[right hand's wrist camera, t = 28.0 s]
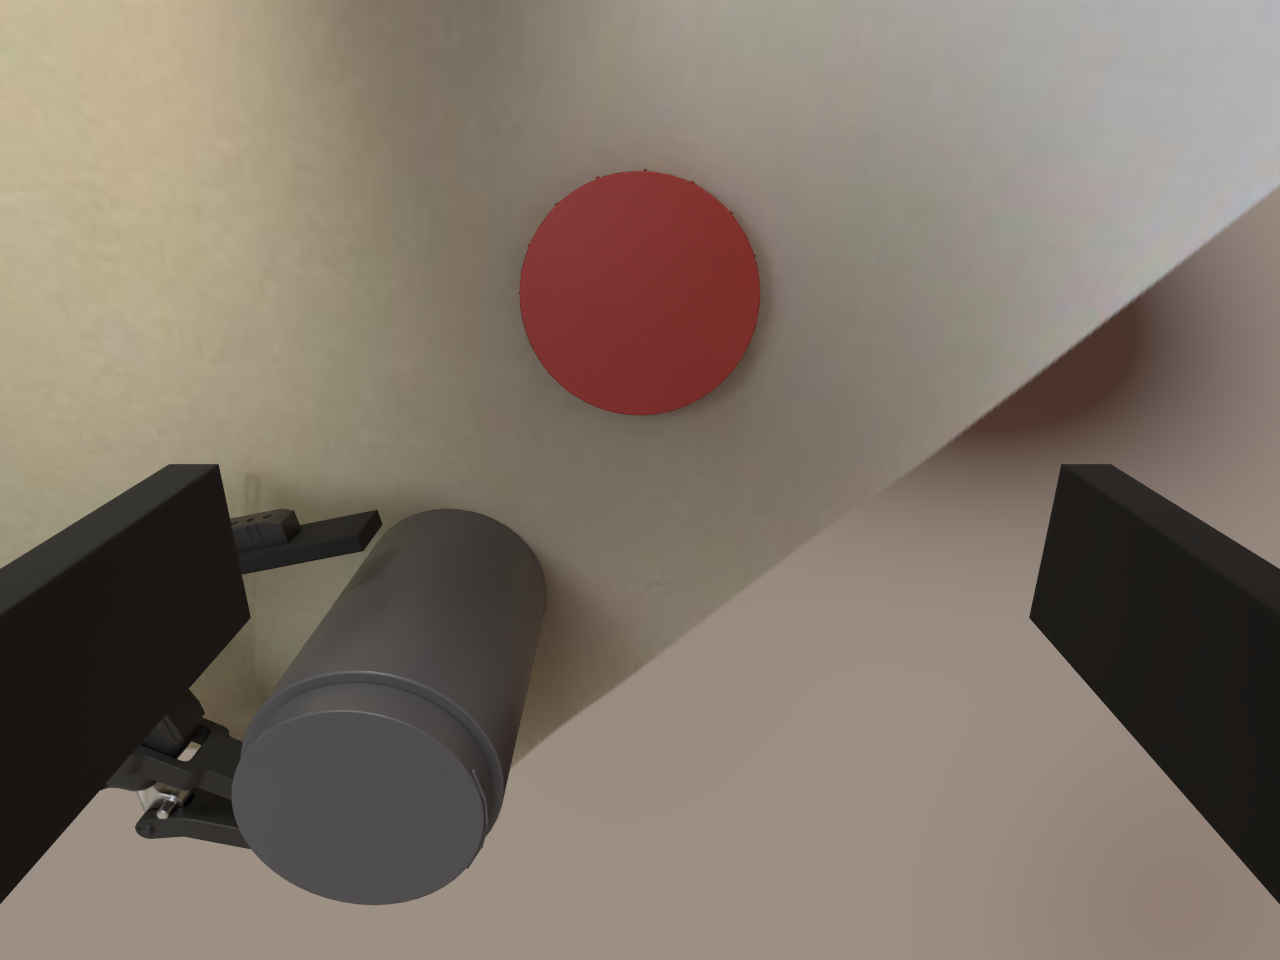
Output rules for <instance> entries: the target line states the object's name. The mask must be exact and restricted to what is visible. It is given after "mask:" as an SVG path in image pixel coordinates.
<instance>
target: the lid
mask: <svg viewBox="0 0 1280 960" xmlns="http://www.w3.org/2000/svg"><path fill="white" fill-rule="evenodd" d="M694 183H695V182H693V181H691V182H688V181H686V180H684V179H681V178H678V177H675V176H672V175H668V174H663V173H658V172H649V171H647V169H644V171H631V172H621V173H616V174H612V175H608V176H604V177H601V178H599V177H596V180H594V181H591V182H589V183H587V184H585V185H583V186H582V187H580V188H578V189H576V190H575V191H573V192H572V193H571V194H569V195H568V196H567V197H565V198H564V199H563V200H561V201H560V202H559V203H556V204H555V207H554V208H553V209H552V210H551V211H550V213H549V214H548V215H547V217H546V218H545V219H544V220H543V222H542V223H541V224H540V226H539V228H538V229H537V231H536V233H535V235H534V237H533V238H532V240H531V243H530V244H529V245H528V247H529V248H528V250H527V253H526V256H525V260H524V264H523V267H522V273H521V281H520V292H519V294H520V306H521V313H522V319H523V323H524V326H525V330H526V334H527V336H528V339H529V341H530V343H531V346H532V348H533V350H534V351H535V353H536V355H537V357H538V358H539V360H540V362H541V363H542V364H543V366H544V367H545V368H546V370H547V371H548V372H549V374H550V375H551V376H552V377H553V378H554V379H555V380H556V381H557V382H558V383H559V384H560V385H561V386H563V387H564V388H565V389H566V390H568V391H569V392H570V393H571V394H573V395H575V396H576V397H578V398H580V399H581V400H583V401H584V402H587V403H589V404H591V405H593V406H596V407H598V408H601V409H604V410H607V411H611V412H615V413H621V414H627V415H651V414H660V413H664V412H669V411H673V410H676V409H679V408H682V407H684V406H687V405H689V404H691V403H693V402H695V401H697V400H699V399H700V398H702V397H704V396H705V395H707V394H708V393H710V392H711V391H712V390H714V389H715V388H716V387H717V386H718V385H719V384H720V383H722V382H723V381H724V380H725V379H726V378H727V376H728V375H729V374H730V373H731V372H732V371H733V370H734V368H735V367H736V365H737V364H738V363H739V361H740V360H741V358H742V357H743V355H744V353H745V351H746V349H747V347H748V345H749V343H750V340H751V338H752V335H753V332H754V330H755V326H756V322H757V317H758V313H759V305H760V281H759V275H758V269H757V264H756V261H755V255H754V254H753V250H752V248H751V246H750V244H749V241H748V239H747V237H746V235H745V233H744V232H743V230H742V228H741V227H740V225H739V224H738V222H737V220H736V219H735V218H734V217H733V216H732V214H733V213H732V212H730V211H728V210H727V208H726V207H724V206H723V205H722V204H721V203H720V202H719V201H718V200H717V199H716V198H715V197H713V196H712V195H710V194H709V193H708V192H706V191H705V190H703V189H702V188H700V187H698V186H696V185H694Z"/></svg>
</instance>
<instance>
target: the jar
mask: <svg viewBox="0 0 1280 960" xmlns="http://www.w3.org/2000/svg"><path fill="white" fill-rule="evenodd" d="M545 604H546V588H545V581H544V577H543V574H542V571H541V568H540V566H539V564H538V561H537V560H536V558H535V556H534V555H533V553H532V551H531V550H530V549H529V548H528V546H527V545H526V544H525V543H524V542H523V541H522V540H521V539H520V538H519V537H518V536H517V535H516V534H515V533H514V532H512V531H511V530H510V529H508V528H507V527H505V526H504V525H502V524H500V523H499V522H497V521H495V520H493V519H490V518H488V517H486V516H483V515H480V514H477V513H473V512H468V511H463V510H451V509H445V510H433V511H428V512H423V513H420V514H417V515H414V516H411V517H409V518H407V519H405V520H403V521H401V522H399V523H398V524H396V525H395V526H393V527H392V528H391V529H390V530H389V531H388V532H386V533H385V534H384V535H383V537H382V538H381V539H380V540H379V541H378V542H377V544H376V545H375V547H374V548H373V550H372V551H371V552H370V554H369V555H368V557H367V558H366V559H365V561H364V562H363V564H362V565H361V566H360V568H359V569H358V571H357V572H356V573H355V575H354V576H353V578H352V579H351V581H350V582H349V583H348V585H347V586H346V588H345V589H344V590H343V592H342V593H341V595H340V596H339V597H338V599H337V600H336V602H335V603H334V604H333V606H332V607H331V609H330V610H329V612H328V613H327V614H326V616H325V617H324V619H323V620H322V621H321V623H320V624H319V626H318V627H317V628H316V630H315V631H314V633H313V634H312V635H311V637H310V638H309V640H308V641H307V643H306V644H305V645H304V647H303V648H302V650H301V651H300V652H299V654H298V655H297V657H296V658H295V659H294V661H293V662H292V664H291V665H290V666H289V668H288V669H287V671H286V672H285V674H284V675H283V676H282V678H281V679H280V681H279V682H278V683H277V685H276V686H275V688H274V689H273V690H272V692H271V693H270V695H269V696H268V697H267V699H266V700H265V702H264V703H263V705H262V706H261V707H260V709H259V710H258V712H257V713H256V714H255V716H254V718H253V719H252V721H251V723H250V724H249V726H248V729H247V731H246V734H245V736H244V739H243V744H242V750H241V760H240V761H239V763H238V766H237V769H236V771H235V774H234V778H233V784H232V806H233V813H234V816H235V819H236V822H237V825H238V827H239V829H240V831H241V833H242V835H243V837H244V839H245V841H246V842H247V843H248V845H249V846H250V848H251V849H252V851H253V852H254V853H255V854H256V855H257V856H258V857H259V858H260V860H261V861H262V862H264V863H265V864H266V865H267V866H268V867H269V868H270V869H271V870H273V871H274V872H275V873H277V874H278V875H280V876H281V877H282V878H284V879H285V880H287V881H289V882H291V883H292V884H294V885H296V886H298V887H300V888H302V889H304V890H306V891H309V892H311V893H313V894H316V895H319V896H322V897H325V898H328V899H332V900H336V901H341V902H347V903H353V904H363V905H384V904H394V903H401V902H406V901H410V900H414V899H418V898H421V897H423V896H426V895H428V894H431V893H433V892H435V891H437V890H439V889H441V888H443V887H444V886H446V885H447V884H449V883H450V882H451V881H453V880H454V879H455V878H456V877H457V876H458V875H460V874H461V873H462V872H463V871H464V870H465V869H466V868H469V866H470V865H471V863H472V862H473V860H474V859H475V857H476V856H477V854H478V852H479V851H480V849H481V848H482V847H483V844H484V840H485V837H486V836H487V834H488V833H489V832H490V831H491V829H492V827H493V825H494V824H495V822H496V820H497V818H498V815H499V812H500V810H501V807H502V803H503V798H504V793H505V789H506V784H507V780H508V775H509V771H510V766H511V761H512V757H513V752H514V748H515V743H516V739H517V734H518V729H519V725H520V720H521V716H522V711H523V706H524V702H525V697H526V693H527V688H528V684H529V679H530V674H531V670H532V665H533V661H534V656H535V651H536V647H537V642H538V638H539V633H540V629H541V624H542V619H543V615H544V610H545Z"/></svg>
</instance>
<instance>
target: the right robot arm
mask: <svg viewBox="0 0 1280 960" xmlns="http://www.w3.org/2000/svg"><path fill="white" fill-rule="evenodd" d="M250 618H251V617H250V612H249V607H248V603H247V598H246V593H245V588H244V584H243V579H242V574H241V569H240V564H239V560H238V555H237V550H236V545H235V541H234V536H233V531H232V526H231V522H230V517H229V512H228V507H227V502H226V498H225V493H224V488H223V483H222V479H221V474H220V469H219V464H169V465H167V466H166V467H164V468H163V469H161V470H159V471H158V472H156V473H154V474H153V475H151V476H150V477H148V478H146V479H145V480H143V481H142V482H140V483H138V484H137V485H135V486H134V487H132V488H130V489H129V490H127V491H125V492H124V493H122V494H121V495H119V496H117V497H116V498H114V499H113V500H111V501H109V502H108V503H106V504H104V505H103V506H101V507H100V508H98V509H96V510H95V511H93V512H92V513H90V514H88V515H87V516H85V517H83V518H82V519H80V520H79V521H77V522H75V523H74V524H72V525H71V526H69V527H67V528H66V529H64V530H63V531H61V532H59V533H58V534H56V535H54V536H53V537H51V538H50V539H48V540H46V541H45V542H43V543H42V544H40V545H38V546H37V547H35V548H33V549H32V550H30V551H29V552H27V553H25V554H24V555H22V556H21V557H19V558H17V559H16V560H14V561H12V562H11V563H9V564H8V565H6V566H4V567H3V568H1V569H0V904H1V903H2V902H3V900H4V899H5V898H6V897H7V896H8V895H9V893H10V892H11V891H12V890H13V889H14V888H15V887H16V886H17V884H18V883H19V882H20V881H21V880H22V879H23V877H24V876H25V875H26V874H27V873H28V872H29V871H30V870H31V868H32V867H33V866H34V865H35V864H36V863H37V862H38V860H39V859H40V858H41V857H42V856H43V855H44V854H45V852H46V851H47V850H48V849H49V848H50V847H51V846H52V844H53V843H54V842H55V841H56V840H57V839H58V837H59V836H60V835H61V834H62V833H63V832H64V831H65V829H66V828H67V827H68V826H69V825H70V824H71V823H72V822H73V820H74V819H75V818H76V817H77V816H78V815H79V813H80V812H81V811H82V810H83V809H84V808H85V807H86V805H87V804H88V803H89V802H90V801H91V800H92V799H93V797H94V796H95V795H96V794H97V793H98V792H99V791H100V789H101V788H102V787H103V786H104V785H105V784H106V783H107V781H108V780H109V779H110V778H111V777H112V776H113V775H114V773H115V772H116V771H117V770H118V769H119V768H120V767H121V765H122V764H123V763H124V762H125V761H126V760H127V759H128V757H129V756H130V755H131V754H132V753H133V752H134V751H135V749H136V748H137V747H138V746H139V745H140V744H141V743H142V741H143V740H144V739H145V738H146V737H147V736H148V735H149V733H150V732H151V731H152V730H153V729H154V728H155V727H156V725H157V724H158V723H159V722H160V721H161V720H162V719H163V717H164V716H165V715H166V714H167V713H168V712H169V711H170V709H171V708H172V707H173V706H174V705H175V704H176V703H177V701H178V700H179V699H180V698H181V697H182V696H183V695H184V693H185V692H186V691H187V690H188V689H189V688H190V687H191V685H192V684H193V683H194V682H195V681H196V680H197V679H198V677H199V676H200V675H201V674H202V673H203V672H204V671H205V669H206V668H207V667H208V666H209V665H210V664H211V663H212V661H213V660H214V659H215V658H216V657H217V656H218V655H219V653H220V652H221V651H222V650H223V649H224V648H225V647H226V645H227V644H228V643H229V642H230V641H231V640H232V639H233V637H234V636H235V635H236V634H237V633H238V632H239V631H240V629H241V628H242V627H243V626H244V625H245V624H246V623H247V621H248V620H249V619H250ZM1029 618H1030V619H1031V620H1032V621H1033V623H1034V624H1035V625H1036V626H1037V627H1038V628H1039V629H1040V631H1041V632H1042V633H1043V634H1044V635H1045V636H1046V637H1047V639H1048V640H1049V641H1050V642H1051V643H1052V644H1053V645H1054V647H1055V648H1056V649H1057V650H1058V651H1059V652H1060V653H1061V655H1062V656H1063V657H1064V658H1065V659H1066V660H1067V661H1068V663H1069V664H1070V665H1071V666H1072V667H1073V668H1074V669H1075V671H1076V672H1077V673H1078V674H1079V675H1080V676H1081V677H1082V679H1083V680H1084V681H1085V682H1086V683H1087V684H1088V685H1089V687H1090V688H1091V689H1092V690H1093V691H1094V692H1095V693H1096V695H1097V696H1098V697H1099V698H1100V699H1101V700H1102V701H1103V703H1104V704H1105V705H1106V706H1107V707H1108V708H1109V709H1110V711H1111V712H1112V713H1113V714H1114V715H1115V716H1116V717H1117V719H1118V720H1119V721H1120V722H1121V723H1122V724H1123V725H1124V727H1125V728H1126V729H1127V730H1128V731H1129V732H1130V733H1131V735H1132V736H1133V737H1134V738H1135V739H1136V740H1137V741H1138V743H1139V744H1140V745H1141V746H1142V747H1143V748H1144V749H1145V751H1146V752H1147V753H1148V754H1149V755H1150V756H1151V757H1152V759H1153V760H1154V761H1155V762H1156V763H1157V764H1158V765H1159V767H1160V768H1161V769H1162V770H1163V771H1164V772H1165V773H1166V775H1167V776H1168V777H1169V778H1170V779H1171V780H1172V781H1173V783H1174V784H1175V785H1176V786H1177V787H1178V788H1179V789H1180V791H1181V792H1182V793H1183V794H1184V795H1185V796H1186V797H1187V799H1188V800H1189V801H1190V802H1191V803H1192V804H1193V805H1194V807H1195V808H1196V809H1197V810H1198V811H1199V812H1200V813H1201V815H1202V816H1203V817H1204V818H1205V819H1206V820H1207V821H1208V823H1209V824H1210V825H1211V826H1212V827H1213V828H1214V830H1215V831H1216V832H1217V833H1218V834H1219V835H1220V836H1221V837H1222V839H1223V840H1224V841H1225V842H1226V843H1227V844H1228V846H1229V847H1230V848H1231V849H1232V850H1233V851H1234V852H1235V853H1236V855H1237V856H1238V857H1239V858H1240V859H1241V860H1242V862H1243V863H1244V864H1245V865H1246V866H1247V867H1248V868H1249V869H1250V871H1251V872H1252V873H1253V874H1254V875H1255V876H1256V878H1257V879H1258V880H1259V881H1260V882H1261V883H1262V884H1263V886H1264V887H1265V888H1266V889H1267V890H1268V891H1269V892H1270V894H1271V895H1272V896H1273V897H1274V898H1275V899H1276V900H1277V902H1278V903H1279V904H1280V569H1279V568H1277V567H1276V566H1274V565H1272V564H1271V563H1269V562H1267V561H1266V560H1264V559H1263V558H1261V557H1259V556H1258V555H1256V554H1255V553H1253V552H1251V551H1250V550H1248V549H1246V548H1245V547H1243V546H1242V545H1240V544H1238V543H1237V542H1235V541H1234V540H1232V539H1230V538H1229V537H1227V536H1226V535H1224V534H1222V533H1221V532H1219V531H1217V530H1216V529H1214V528H1213V527H1211V526H1209V525H1208V524H1206V523H1205V522H1203V521H1201V520H1200V519H1198V518H1197V517H1195V516H1193V515H1192V514H1190V513H1188V512H1187V511H1185V510H1184V509H1182V508H1180V507H1179V506H1177V505H1175V504H1174V503H1172V502H1171V501H1169V500H1167V499H1166V498H1164V497H1163V496H1161V495H1159V494H1158V493H1156V492H1154V491H1153V490H1151V489H1150V488H1148V487H1146V486H1145V485H1143V484H1142V483H1140V482H1138V481H1137V480H1135V479H1134V478H1132V477H1130V476H1129V475H1127V474H1125V473H1124V472H1122V471H1121V470H1119V469H1117V468H1116V467H1114V466H1113V465H1111V464H1062V465H1061V469H1060V474H1059V479H1058V484H1057V488H1056V493H1055V498H1054V503H1053V507H1052V512H1051V517H1050V522H1049V527H1048V531H1047V536H1046V541H1045V545H1044V550H1043V555H1042V560H1041V564H1040V569H1039V574H1038V579H1037V584H1036V588H1035V593H1034V598H1033V603H1032V607H1031V612H1030V617H1029Z"/></svg>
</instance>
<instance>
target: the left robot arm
mask: <svg viewBox="0 0 1280 960" xmlns="http://www.w3.org/2000/svg"><path fill="white" fill-rule="evenodd" d="M230 522H231V526H232V531H233V536H234V541H235V545H236V550H237V555H238V560H239V564H240V569H241V574H247V573H252V572H257V571H262V570H268V569H273V568H278V567H283V566H288V565H293V564H299V563H304V562H309V561H314V560H319V559H324V558H329V557H335V556H340V555H345V554H350V553H355V552H360V551H364V549H365V548H366V546H367V545H368V544H369V542H370V541H371V540H372V538H373V537H374V536H375V534H376V533H377V531H378V530H379V529H380V527H381V526H382V525H383V524H382V521H381V519H380V516H379V513H378V510H374V511H369V512H364V513H359V514H354V515H349V516H344V517H339V518H334V519H329V520H324V521H319V522H313V523H308V524H303V525H300V524H299V522H298V519H297V517H296V514H295V512H294V510H287V509H277V510H272V511H269V512H268V511H267V512H262V513H257V514H252V515H247V516H242V517H237V518H231V519H230ZM204 714H205V712H204V710H203V708H202V706H201V704H200V702H199V700H198V699H197V698H196V697H195V696H194V695H193V694H192V692H191V691H190V690H189V689H188V690H187V691H186V692H185V693H184V695H183V696H182V697H181V698H180V699H179V700H178V701H177V703H176V704H175V705H174V706H173V707H172V708H171V709H170V711H169V712H168V713H167V714H166V715H165V716H164V717H163V719H162V720H161V721H160V722H159V723H158V724H157V725H156V727H155V728H154V729H153V730H152V731H151V732H150V733H149V735H148V736H147V737H146V738H145V739H144V740H143V741H142V743H141V744H140V745H139V746H138V747H137V748H136V749H135V751H134V752H133V753H132V754H131V755H130V756H129V757H128V759H127V760H126V761H125V762H124V763H123V764H122V765H121V767H120V768H119V769H118V770H117V771H116V772H115V773H114V775H113V776H112V777H111V778H110V779H109V780H108V781H107V783H106V784H105V785H104V786H103V787H102V788H101V789H100V790H103V789H106V788H121V789H125V790H130V791H136V792H137V795H138V797H139V800H140V802H141V804H142V807H143V809H144V812H145V813H144V815H143V816H142V817H141V819H140V820H139V821H138V823H137V824H136V826H135V829H136V831H137V833H138V834H139V835H140V836H142V837H144V838H148V839H155V838H169V837H182V836H184V837H189V838H195V839H200V840H206V841H210V842H216V843H221V844H227V845H232V846H237V847H242V848H247V849H251V848H250V846H249V845H248V843H247V842H246V841H245V839H244V837H243V835H242V833H241V831H240V829H239V827H238V825H237V822H236V819H235V816H234V813H233V806H232V784H233V778H234V774H235V771H236V769H237V766H238V763H239V761H240V760H241V750H242V744H243V742H241V741H239V740H236V739H234V738H232V737H230V735H229V731H228V729H227V728H226V727H224V726H222V725H220V724H217V723H215V722H212V721H210V720H207V719H205V718H202V716H203V715H204ZM191 741H192V742H195V743H198V744H200V745H202V746H201V747H200V748H199V750H198V751H197V752H196V754H195V755H194V756H193V758H192V759H191V760H189V761H180V760H178V759H177V758H178V757H179V756H180V755H181V754H182V753H183V751H184V750H185V749H186V748H187V746H188V745H189V744H190V743H191Z"/></svg>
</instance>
